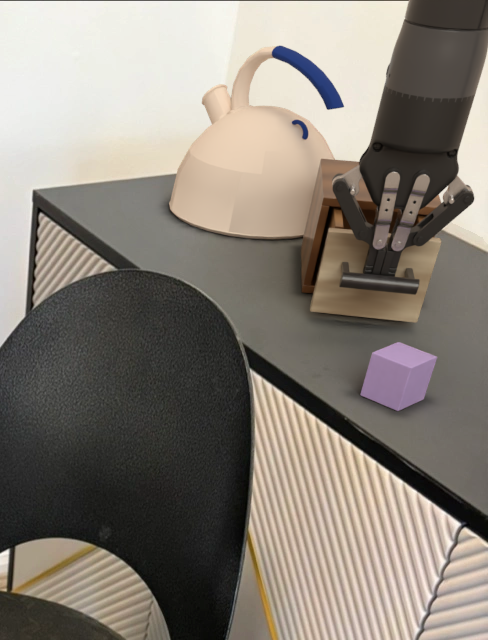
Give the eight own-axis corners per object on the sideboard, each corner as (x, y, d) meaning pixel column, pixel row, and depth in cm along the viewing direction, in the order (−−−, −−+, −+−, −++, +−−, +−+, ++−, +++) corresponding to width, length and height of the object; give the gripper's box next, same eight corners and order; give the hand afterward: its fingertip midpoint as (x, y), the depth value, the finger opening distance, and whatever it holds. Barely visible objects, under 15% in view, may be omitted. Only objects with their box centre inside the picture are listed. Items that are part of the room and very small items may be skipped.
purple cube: (385, 384, 102) (398, 341, 99) (423, 399, 99) (437, 356, 97) (359, 395, 100) (371, 352, 97) (397, 411, 97) (411, 367, 95)
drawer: (421, 342, 107) (446, 259, 102) (310, 330, 108) (330, 248, 103) (406, 275, 120) (429, 199, 115) (308, 266, 122) (326, 190, 117)
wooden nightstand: (414, 304, 116) (443, 207, 110) (301, 292, 118) (323, 197, 112) (404, 257, 127) (430, 167, 121) (300, 247, 129) (320, 158, 123)
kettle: (248, 179, 149) (277, 22, 137) (369, 223, 136) (413, 54, 124) (133, 202, 140) (153, 37, 129) (250, 251, 128) (285, 73, 116)
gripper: (352, 87, 94) (304, 293, 105) (518, 100, 92) (450, 308, 103) (350, 68, 99) (304, 266, 111) (506, 80, 97) (443, 280, 108)
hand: (375, 286), depth 107 cm, fingers closed
